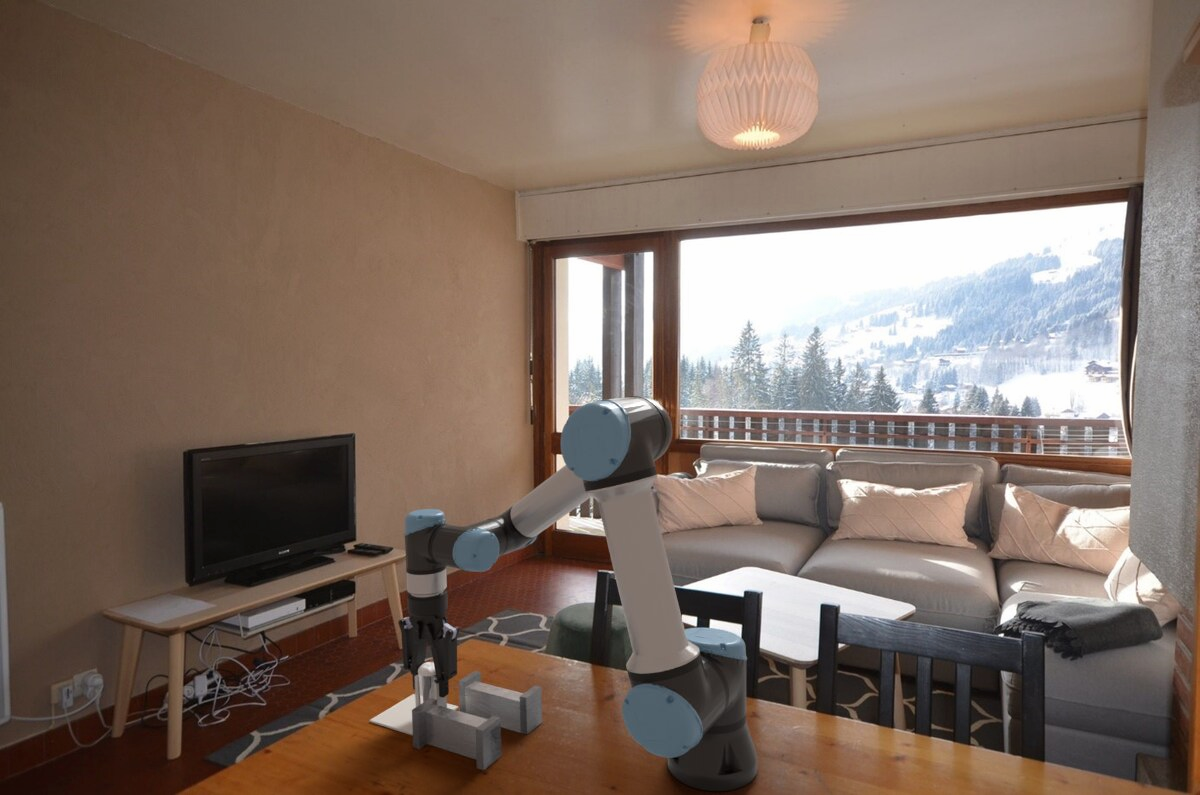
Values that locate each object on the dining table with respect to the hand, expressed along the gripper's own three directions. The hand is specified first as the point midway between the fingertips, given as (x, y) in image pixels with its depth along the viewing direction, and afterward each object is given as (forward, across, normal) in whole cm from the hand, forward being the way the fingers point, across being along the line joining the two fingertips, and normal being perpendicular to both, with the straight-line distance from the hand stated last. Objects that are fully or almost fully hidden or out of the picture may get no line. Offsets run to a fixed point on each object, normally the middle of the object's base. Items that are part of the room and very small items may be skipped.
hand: (431, 708), depth 142 cm
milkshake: (0, 0, 0) cm, 0 cm away
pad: (+2, +4, 0) cm, 5 cm away
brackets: (+2, -12, 0) cm, 12 cm away
